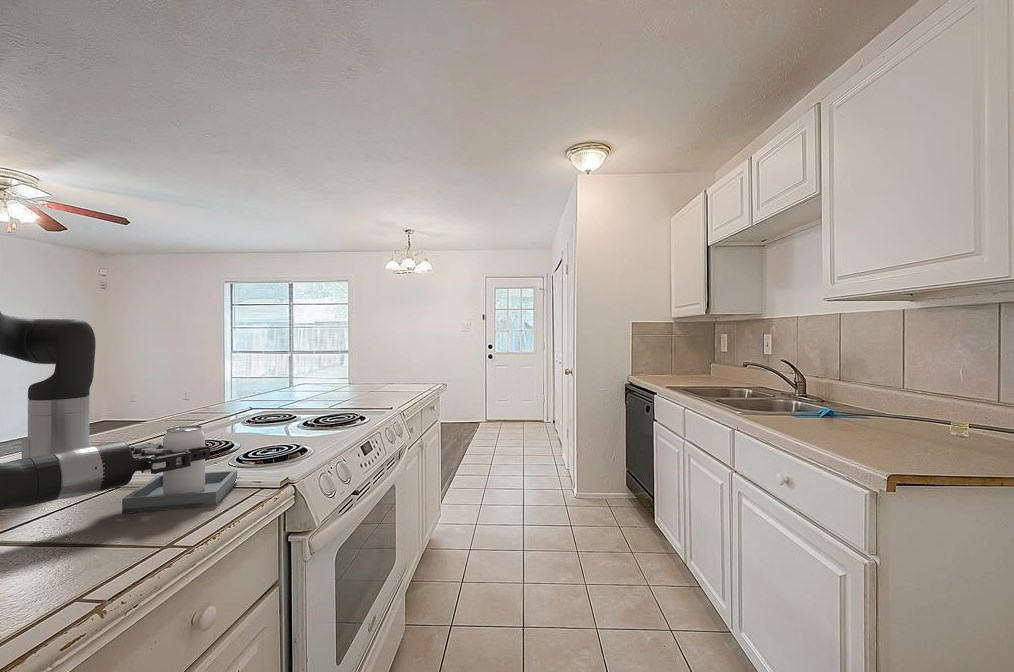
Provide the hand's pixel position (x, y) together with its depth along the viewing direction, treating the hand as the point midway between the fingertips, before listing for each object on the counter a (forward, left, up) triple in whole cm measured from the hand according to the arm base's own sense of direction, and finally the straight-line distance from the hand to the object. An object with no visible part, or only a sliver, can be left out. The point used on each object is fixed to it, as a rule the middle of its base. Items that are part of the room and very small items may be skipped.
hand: (196, 448), depth 91 cm
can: (-1, -2, -8) cm, 8 cm away
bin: (-1, -1, -8) cm, 9 cm away
